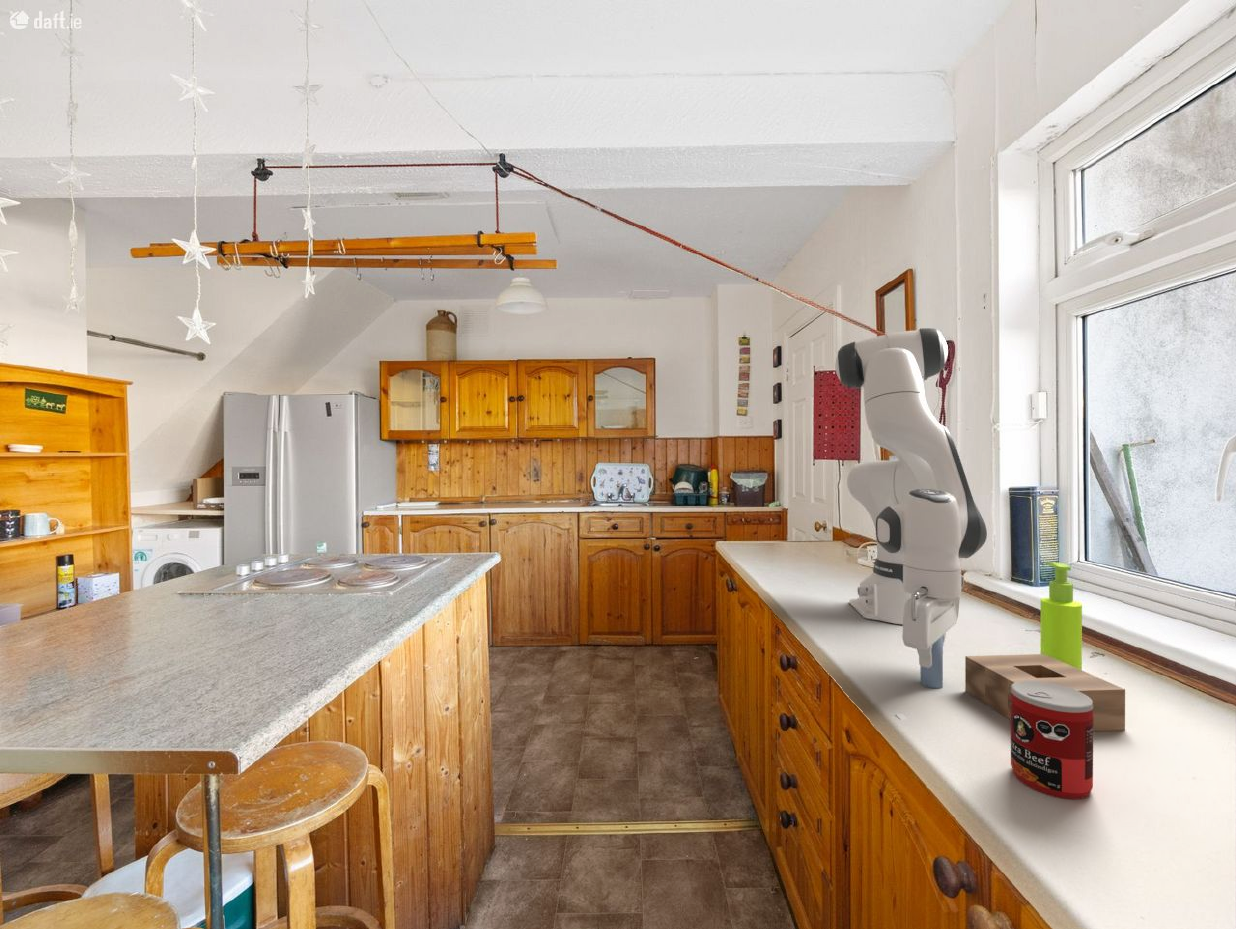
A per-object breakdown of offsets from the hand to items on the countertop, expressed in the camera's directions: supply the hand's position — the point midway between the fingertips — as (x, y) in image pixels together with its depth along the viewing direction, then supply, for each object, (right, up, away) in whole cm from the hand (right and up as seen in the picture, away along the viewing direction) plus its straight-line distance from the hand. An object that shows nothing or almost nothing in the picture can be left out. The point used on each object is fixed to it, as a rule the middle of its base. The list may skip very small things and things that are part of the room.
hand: (931, 661), depth 94 cm
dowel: (0, -4, 0) cm, 4 cm away
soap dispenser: (+27, -4, +5) cm, 28 cm away
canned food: (-2, -5, -28) cm, 29 cm away
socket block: (+11, -4, -10) cm, 15 cm away
